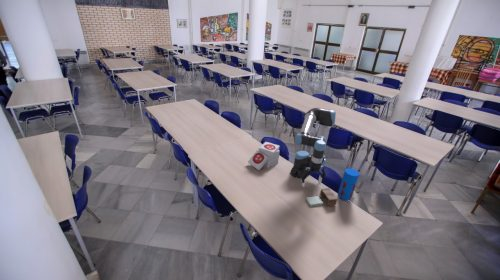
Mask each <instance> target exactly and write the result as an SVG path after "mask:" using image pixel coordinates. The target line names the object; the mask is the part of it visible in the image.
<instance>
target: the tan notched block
mask: <svg viewBox="0 0 500 280" xmlns="http://www.w3.org/2000/svg"><path fill="white" fill-rule="evenodd" d="M319 196H322V197H326V198H327V202H326V203H327V204H326V206H327V207H328V206H329V207H335V205H336V206H337V202H338V196H336V195H335V194H334V192H333V191H332V190H331V189H330V188H329V187H326V188H325V187H324V188H321V190H320V193H319Z"/></svg>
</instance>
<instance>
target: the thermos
mask: <svg viewBox="0 0 500 280" xmlns="http://www.w3.org/2000/svg"><path fill="white" fill-rule="evenodd" d="M359 176H360V172H359V171H358V170H356V169H354V168H351V167H349V168H348V167H347V168H345V170H344V172H343V175H342V178H341V183H340V185H339V188H338V191H337V192H338V193H337V198H339V199H341V200H342V201H347V200H348V202H349V201H351V199H352V196H353V195H354V191H355V188H356V186H357V183H358V181H359Z"/></svg>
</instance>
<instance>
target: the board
mask: <svg viewBox="0 0 500 280" xmlns="http://www.w3.org/2000/svg"><path fill="white" fill-rule="evenodd" d="M319 196H320V195H317V196H316V195H315V196H309V197H306V198H305V201H306V203H308V206H309V207H316V206H323V205H324V202H323V201H322V199H321V197H319Z"/></svg>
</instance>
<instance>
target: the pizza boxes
mask: <svg viewBox="0 0 500 280" xmlns="http://www.w3.org/2000/svg"><path fill="white" fill-rule="evenodd" d="M280 152H281V151H280V145H279V144H276V143H275V144H274V143H272V142H268V141H265V142H263V144H261V146H260V147H259V148H258V149H256V151H255V152H254V153H253V155H252V156H251V157H250V158H249V160H247V163H248V164H249V165H251V166H252V167H253V168H255V169H256V170H257V171H260V170H261V169H262V168H263V167H265V168H267V169H269V168H271V167H273V166H275V165H276V164H279V157H280Z"/></svg>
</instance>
